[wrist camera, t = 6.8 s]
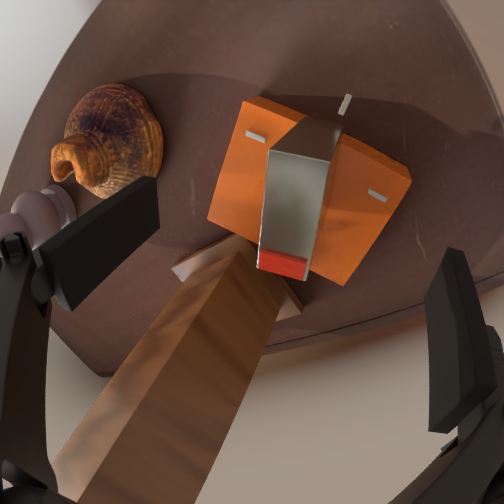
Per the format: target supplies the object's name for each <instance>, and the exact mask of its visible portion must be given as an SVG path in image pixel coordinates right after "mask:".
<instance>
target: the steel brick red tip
mask: <svg viewBox="0 0 504 504" xmlns="http://www.w3.org/2000/svg"><path fill="white" fill-rule="evenodd" d="M343 129H344V124H340V123H336V122H331V121H326V120H321V119H316V118H311V117H304V118H303V119H301V120H300V121H299V122H298V123H297V124H296V125H295V126H294V127H293V128H291V129H290V130H289V131H288V132H287V133H286V134H285V135H284V136H283V137H282V138H281V139H279V140H278V141H277V142H276V143H275V144H274V145H273V146H272V147H271V148H270V149H269V150H268V157H267V168H266V178H265V188H264V198H263V208H262V218H261V228H260V238H259V248H258V258H257V268H258V269H261V270H265V271H269V272H272V273H276V274H280V275H283V276H287V277H291V278H295V279H298V280H303V281H306V279H307V276H308V273H309V270H310V267H311V264H312V261H313V258H314V254H315V251H316V248H317V245H318V241H319V238H320V235H321V232H322V228H323V225H324V221H325V218H326V215H327V211H328V207H329V203H330V198H331V193H332V188H333V183H334V178H335V173H336V168H337V162H338V157H339V152H340V146H341V140H342V135H343Z"/></svg>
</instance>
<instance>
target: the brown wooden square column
mask: <svg viewBox="0 0 504 504" xmlns="http://www.w3.org/2000/svg"><path fill="white" fill-rule="evenodd" d="M258 248H259V244H257V243H254V242H252V241H250V240H248V239H246V238H244V237H242V236H240V235H238V234H236V233H234V232H233V233H231V234H230V235H228V236H226V237H224V238H222V239H220V240H218V241H216V242H215V243H213V244H211V245H209V246H207V247H205V248H203V249H201V250H200V251H198V252H196V253H194V254H192V255H190V256H188V257H187V258H185V259H183V260H181V261H179V262H177V263H176V264H175V265H174V266H173V267H172V270H173V271H174V272H175V274H176V275H177V276H178V277H179V278H180V280H181V281H182V282H183V284H182V285H181V286H180V288H179V289H178V290H177V292H176V293H175V294H174V295H173V297H172V298H171V299H170V301H169V302H168V303H167V305H166V306H165V307H164V309H163V310H162V311H161V312H160V314H159V315H158V316H157V318H156V319H155V320H154V322H153V323H152V324H151V326H150V327H149V328H148V330H147V331H146V332H145V334H144V335H143V336H142V338H141V339H140V340H139V342H138V343H137V344H136V346H135V347H134V348H133V350H132V351H131V353H130V354H129V355H128V357H127V358H126V359H125V361H124V362H123V363H122V365H121V366H120V368H119V369H118V370H117V372H116V373H115V374H114V376H113V377H112V379H111V380H110V381H109V383H108V384H107V386H106V387H105V388H104V390H103V391H102V392H101V394H100V395H99V397H98V398H97V400H96V401H95V402H94V404H93V405H92V407H91V408H90V409H89V411H88V412H87V414H86V415H85V416H84V418H83V419H82V421H81V422H80V424H79V426H78V427H77V428H76V429H75V431H74V432H73V434H72V435H71V437H70V438H69V440H68V441H67V442H66V444H65V445H64V447H63V449H62V450H61V451H60V453H59V454H58V456H57V457H56V459H55V460H54V462H53V463H52V465H51V466H52V468H53V470H54V473H55V475H56V479H57V485H58V492H59V494H61V495H63V496H65V497H67V498H69V499H71V500H73V501H75V502H77V503H79V504H194V503H195V501H196V499H197V497H198V495H199V493H200V491H201V489H202V487H203V485H204V483H205V481H206V479H207V476H208V474H209V472H210V470H211V468H212V466H213V464H214V462H215V459H216V457H217V455H218V453H219V451H220V449H221V447H222V444H223V442H224V440H225V438H226V435H227V434H228V431H229V429H230V427H231V424H232V422H233V420H234V418H235V416H236V413H237V411H238V409H239V407H240V404H241V402H242V400H243V398H244V395H245V393H246V391H247V388H248V386H249V384H250V381H251V379H252V377H253V374H254V372H255V369H256V367H257V365H258V362H259V360H260V358H261V355H262V353H263V350H264V348H265V346H266V343H267V341H268V338H269V336H270V333H271V331H272V329H273V326H274V324H275V322H276V321H279V320H283V319H286V318H290V317H293V316H296V315H300V314H302V312H303V309H304V306H303V305H302V303H301V302H300V301H299V299H298V298H297V296H296V295H295V294H294V292H293V291H292V290H291V288H290V287H289V285H288V284H287V283H286V281H285V280H284V279H283V277H282V276H281V275H280V274H276V273H272V272H269V271H265V270H261V269H258V268H257V258H258Z"/></svg>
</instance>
